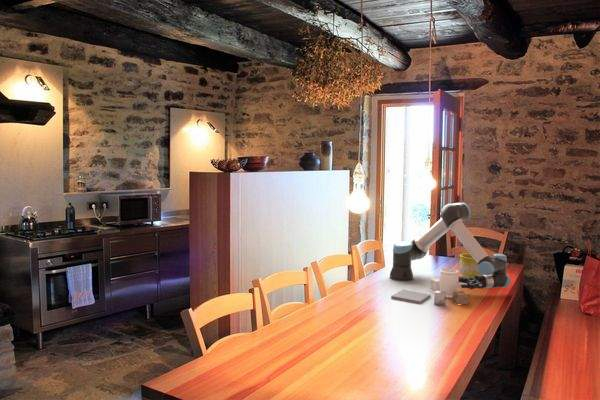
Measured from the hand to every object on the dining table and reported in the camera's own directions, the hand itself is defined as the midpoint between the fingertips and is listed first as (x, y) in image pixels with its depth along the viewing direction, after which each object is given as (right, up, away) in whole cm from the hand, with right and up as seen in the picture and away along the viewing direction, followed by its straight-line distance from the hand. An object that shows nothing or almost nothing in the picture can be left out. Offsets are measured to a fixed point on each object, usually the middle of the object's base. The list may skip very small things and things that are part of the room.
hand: (449, 282), depth 288 cm
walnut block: (+2, -9, -12) cm, 16 cm away
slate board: (-23, -8, -3) cm, 24 cm away
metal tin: (-10, -9, -15) cm, 20 cm away
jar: (0, -8, +1) cm, 8 cm away
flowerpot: (+26, -5, +36) cm, 45 cm away
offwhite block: (-3, -6, +15) cm, 17 cm away
